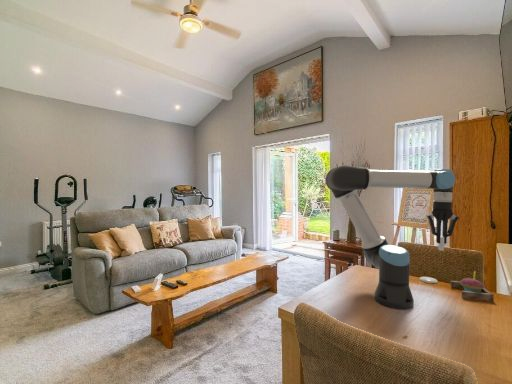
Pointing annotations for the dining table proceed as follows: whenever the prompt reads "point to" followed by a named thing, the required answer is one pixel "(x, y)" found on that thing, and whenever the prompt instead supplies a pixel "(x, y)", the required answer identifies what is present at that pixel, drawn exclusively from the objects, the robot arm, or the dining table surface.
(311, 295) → the dining table surface
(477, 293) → the bay
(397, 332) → the dining table surface
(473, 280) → the cupcake
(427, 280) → the white round domed disc
